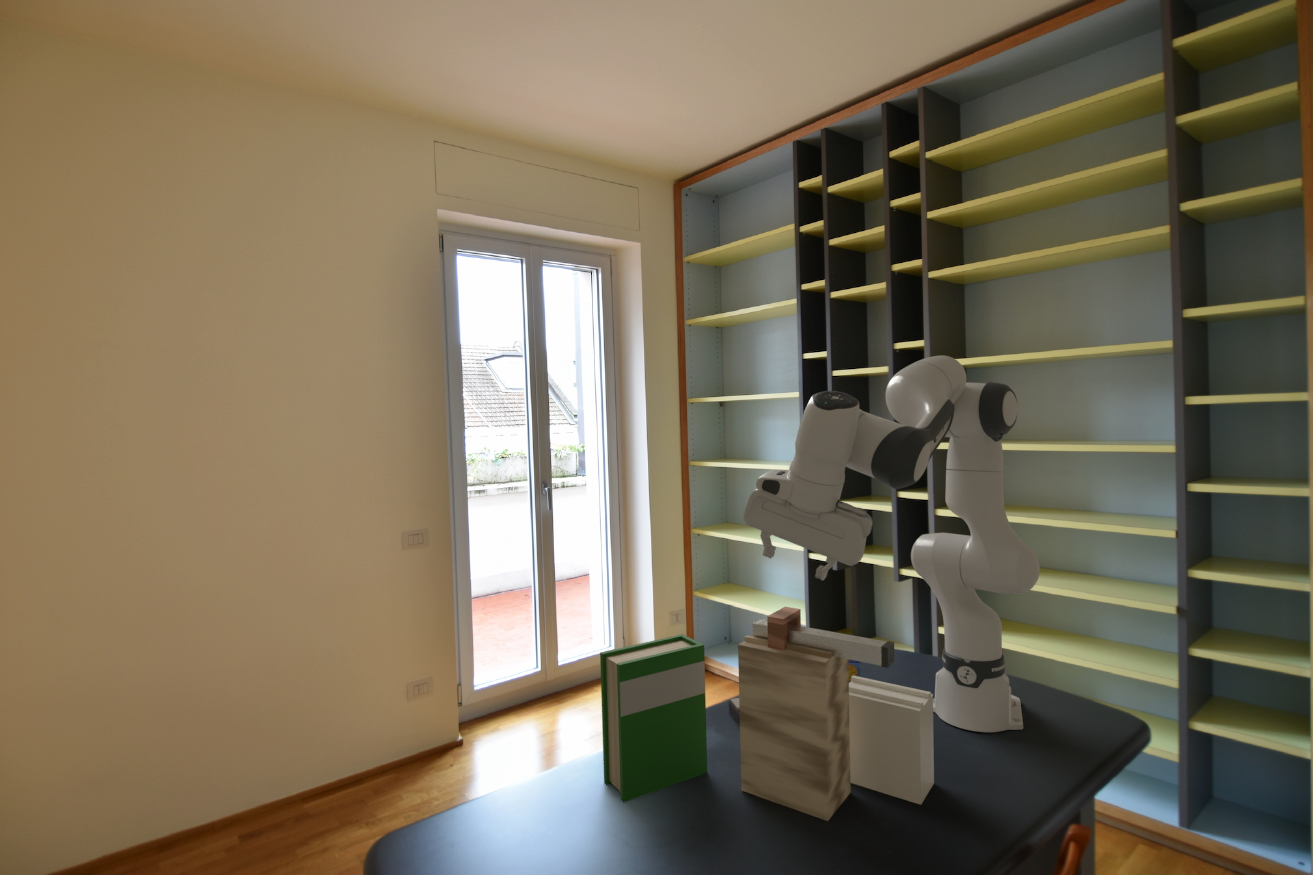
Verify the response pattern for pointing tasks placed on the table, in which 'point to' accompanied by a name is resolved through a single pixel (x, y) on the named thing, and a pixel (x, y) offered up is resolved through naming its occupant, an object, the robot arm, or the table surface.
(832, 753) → the paper bag with handle
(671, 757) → the hardback book
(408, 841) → the table surface
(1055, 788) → the table surface
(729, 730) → the table surface
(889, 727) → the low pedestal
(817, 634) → the grey square bar
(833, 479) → the robot arm
